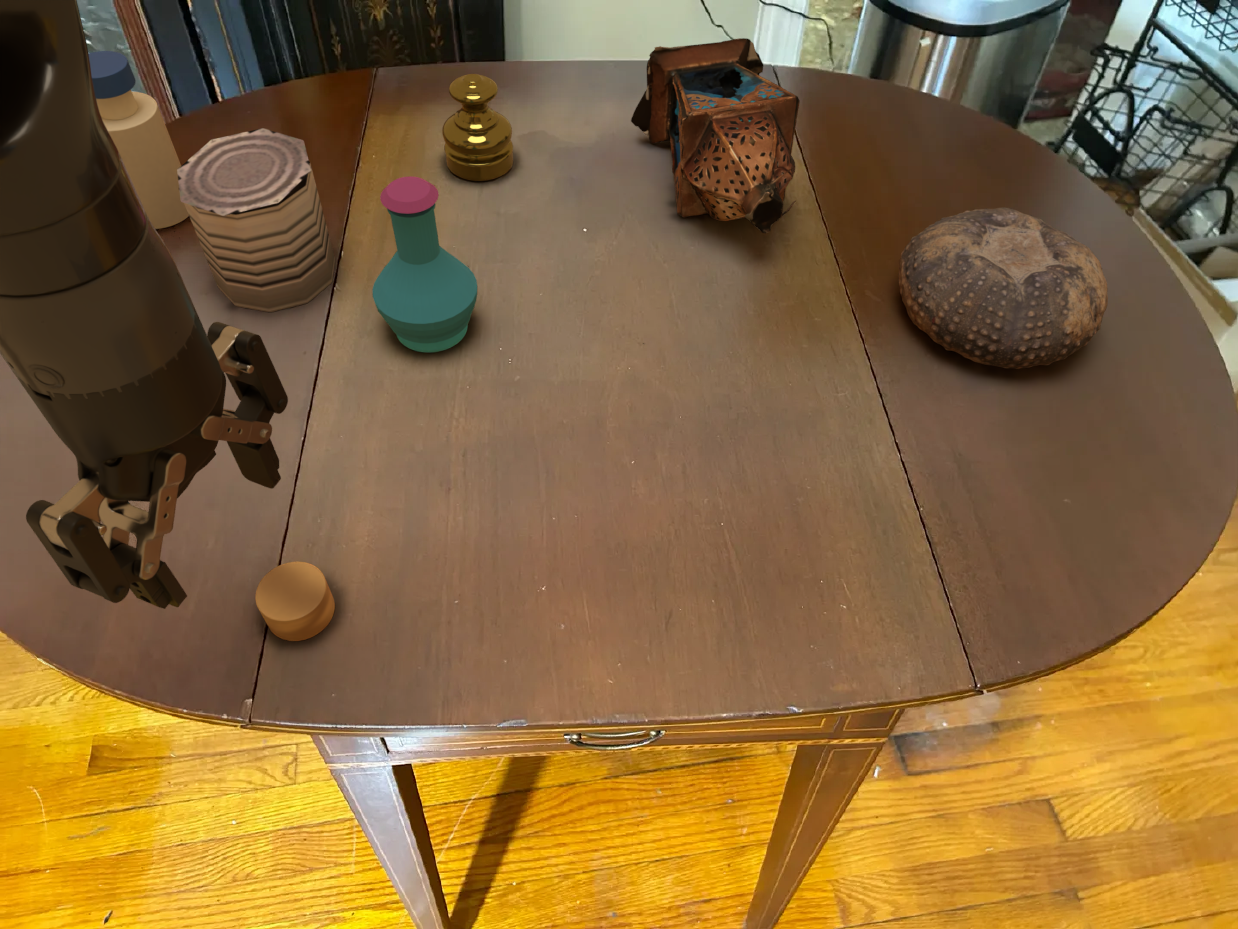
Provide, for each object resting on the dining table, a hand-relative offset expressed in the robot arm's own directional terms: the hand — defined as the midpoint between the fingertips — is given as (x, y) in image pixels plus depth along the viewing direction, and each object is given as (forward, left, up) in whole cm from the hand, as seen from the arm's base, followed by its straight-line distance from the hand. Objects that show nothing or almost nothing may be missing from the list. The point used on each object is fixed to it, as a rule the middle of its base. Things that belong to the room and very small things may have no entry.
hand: (218, 536), depth 51 cm
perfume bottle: (+31, +14, -16) cm, 38 cm away
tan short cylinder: (+3, +2, -15) cm, 16 cm away
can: (+28, +31, -16) cm, 45 cm away
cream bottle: (+28, +48, -15) cm, 58 cm away
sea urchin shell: (+64, -28, -16) cm, 72 cm away
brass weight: (+54, +27, -16) cm, 63 cm away
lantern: (+65, +3, -16) cm, 67 cm away
